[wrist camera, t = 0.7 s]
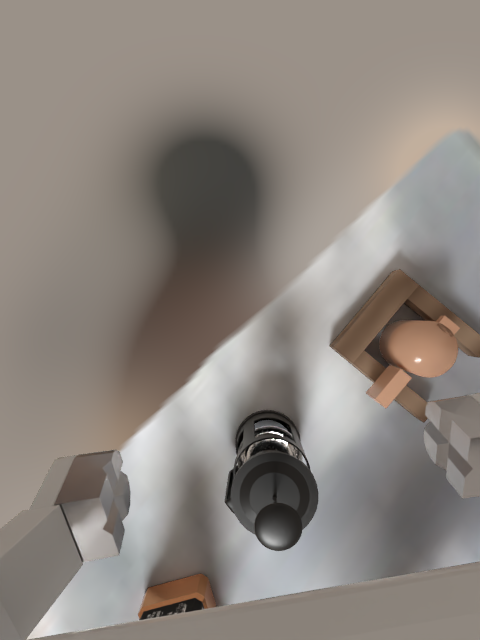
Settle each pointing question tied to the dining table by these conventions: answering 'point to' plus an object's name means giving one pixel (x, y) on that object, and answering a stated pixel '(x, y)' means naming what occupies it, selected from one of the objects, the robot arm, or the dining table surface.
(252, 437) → the french press
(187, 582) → the whiskey bottle
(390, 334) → the tan rounded piece
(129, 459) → the dining table surface
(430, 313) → the brown block arch
